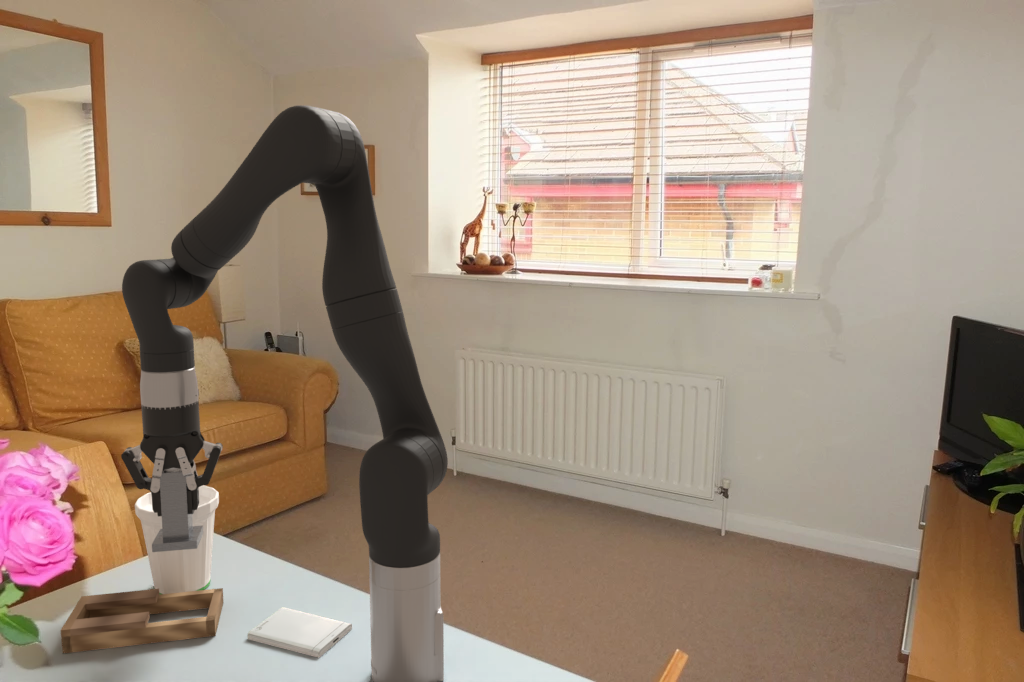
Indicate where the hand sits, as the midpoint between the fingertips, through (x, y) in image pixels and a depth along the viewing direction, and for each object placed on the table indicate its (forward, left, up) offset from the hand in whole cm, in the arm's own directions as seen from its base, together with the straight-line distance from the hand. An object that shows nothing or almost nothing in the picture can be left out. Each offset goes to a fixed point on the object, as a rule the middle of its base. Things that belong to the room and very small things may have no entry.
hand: (176, 512), depth 111 cm
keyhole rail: (+5, 0, -17) cm, 18 cm away
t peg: (0, 0, -5) cm, 5 cm away
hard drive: (-17, +7, -18) cm, 26 cm away
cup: (+2, -12, -17) cm, 21 cm away
